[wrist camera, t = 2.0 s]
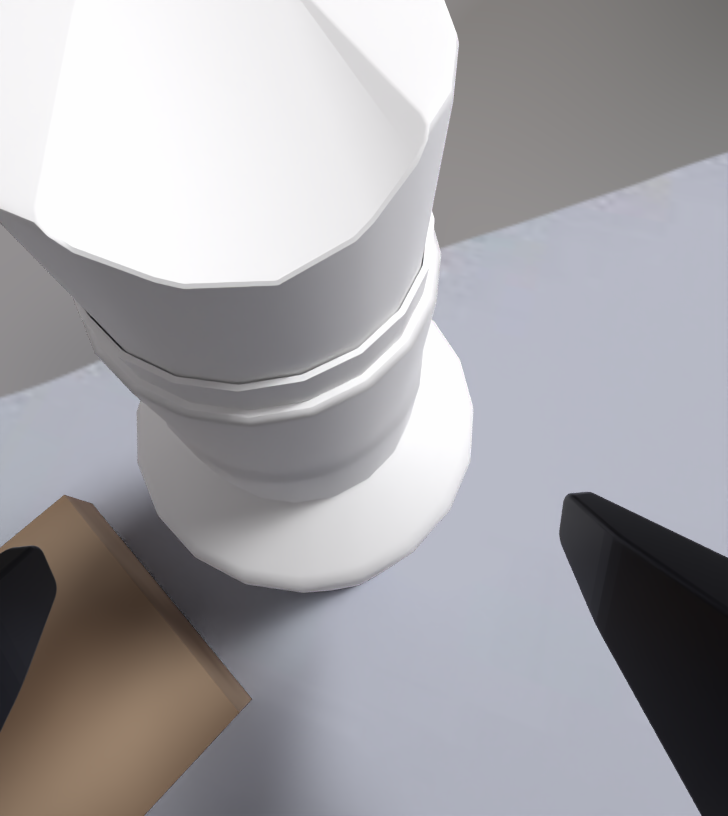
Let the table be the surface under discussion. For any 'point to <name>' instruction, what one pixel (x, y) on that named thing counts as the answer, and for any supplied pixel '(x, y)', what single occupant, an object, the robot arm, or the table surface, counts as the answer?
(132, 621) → the brown flat square block
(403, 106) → the spray bottle
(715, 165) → the table surface
